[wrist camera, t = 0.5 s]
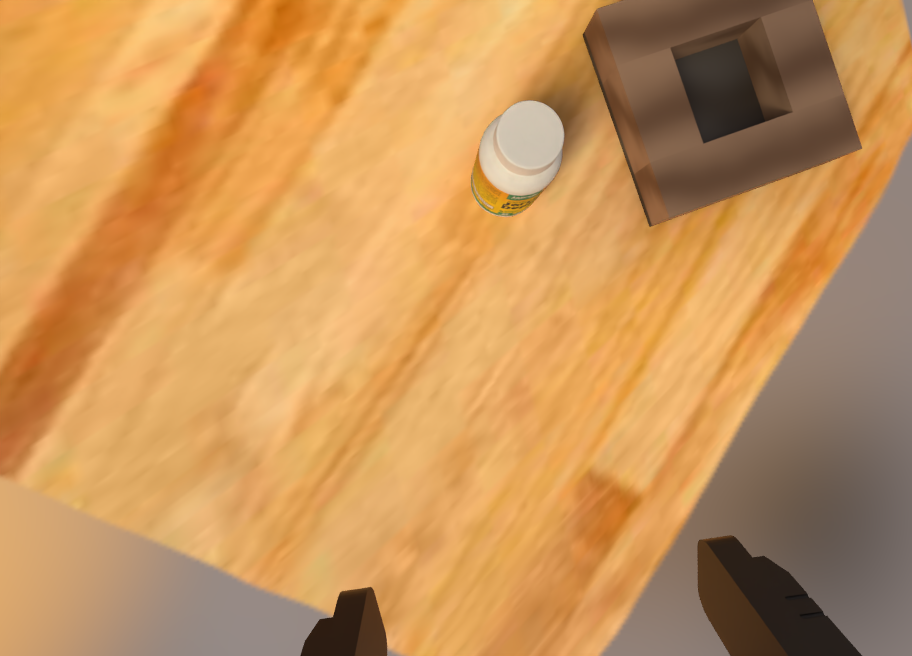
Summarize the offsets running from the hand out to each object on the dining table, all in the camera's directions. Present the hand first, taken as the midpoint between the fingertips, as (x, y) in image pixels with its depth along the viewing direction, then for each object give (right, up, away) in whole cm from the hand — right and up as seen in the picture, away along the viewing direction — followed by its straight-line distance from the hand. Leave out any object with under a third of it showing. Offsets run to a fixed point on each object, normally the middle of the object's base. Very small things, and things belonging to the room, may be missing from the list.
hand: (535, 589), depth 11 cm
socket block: (+18, +25, +26) cm, 40 cm away
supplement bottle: (+2, +18, +25) cm, 31 cm away
